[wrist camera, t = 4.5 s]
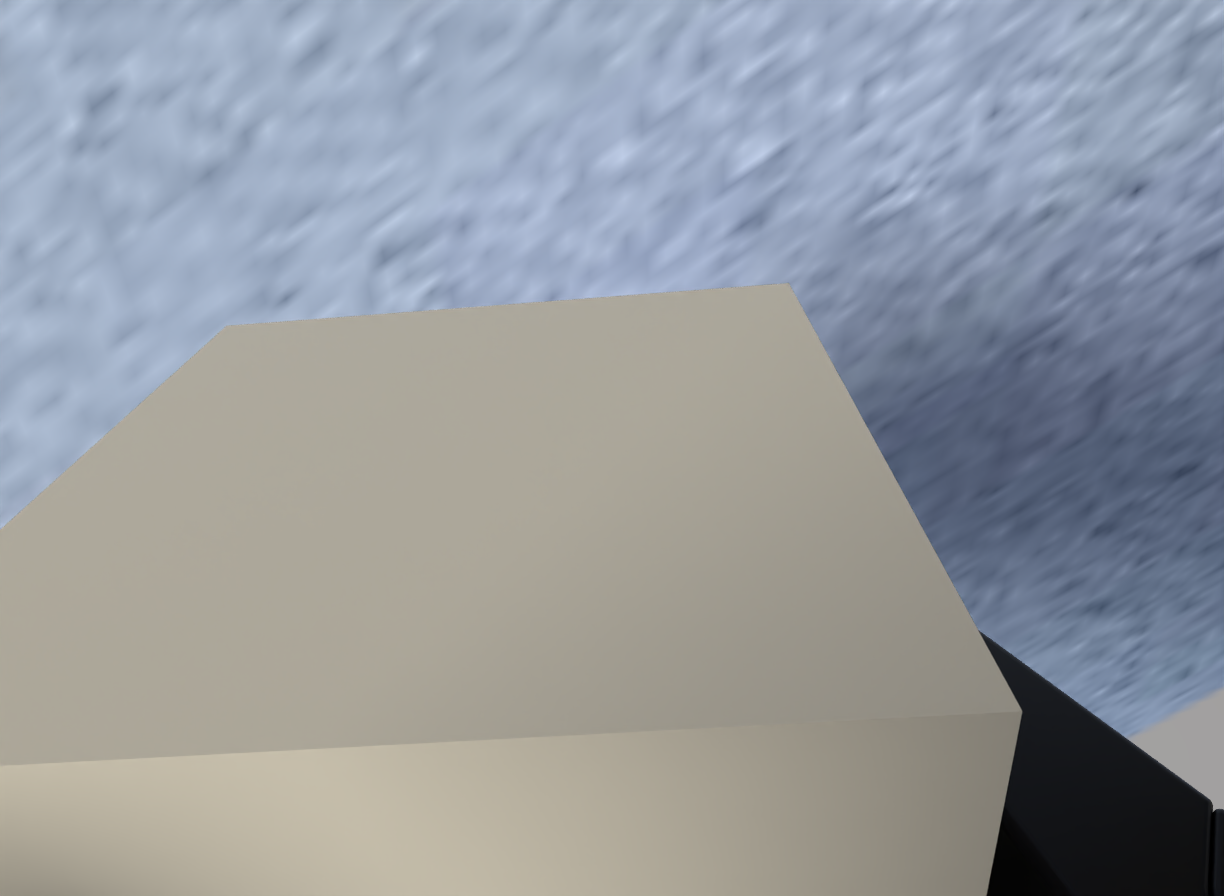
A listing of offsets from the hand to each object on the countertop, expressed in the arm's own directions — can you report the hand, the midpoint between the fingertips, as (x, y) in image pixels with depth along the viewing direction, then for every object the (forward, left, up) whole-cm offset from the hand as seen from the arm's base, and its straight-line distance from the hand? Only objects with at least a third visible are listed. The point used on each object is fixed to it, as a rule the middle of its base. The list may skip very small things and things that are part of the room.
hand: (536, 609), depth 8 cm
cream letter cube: (0, 0, -1) cm, 1 cm away
